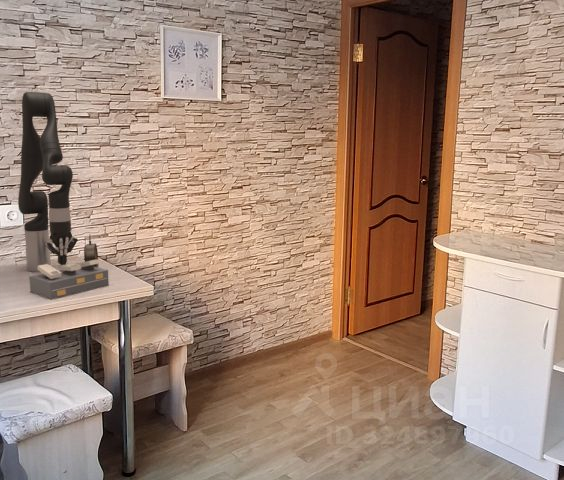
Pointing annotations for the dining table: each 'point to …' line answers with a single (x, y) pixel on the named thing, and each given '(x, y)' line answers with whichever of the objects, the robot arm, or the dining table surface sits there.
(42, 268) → the rocker
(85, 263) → the rocker
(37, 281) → the switch unit
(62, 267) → the rocker
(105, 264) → the dining table surface
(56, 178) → the robot arm
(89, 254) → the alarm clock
